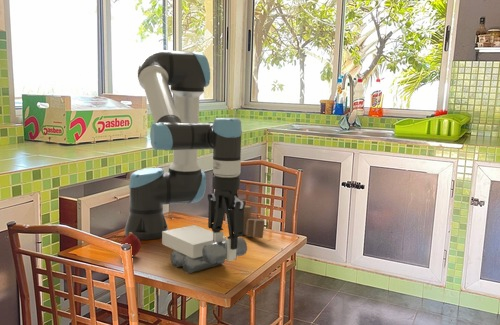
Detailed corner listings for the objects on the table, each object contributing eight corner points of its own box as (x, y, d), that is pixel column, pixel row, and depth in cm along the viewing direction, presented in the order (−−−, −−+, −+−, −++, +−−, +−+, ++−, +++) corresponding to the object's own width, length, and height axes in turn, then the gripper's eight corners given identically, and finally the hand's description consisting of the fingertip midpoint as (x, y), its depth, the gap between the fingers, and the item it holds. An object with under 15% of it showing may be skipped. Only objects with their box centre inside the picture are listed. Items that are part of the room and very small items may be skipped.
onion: (133, 252, 153) (133, 228, 152) (144, 257, 150) (144, 232, 149) (117, 257, 149) (117, 232, 148) (129, 261, 145) (129, 236, 144)
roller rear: (169, 250, 144) (178, 250, 140) (201, 243, 152) (211, 242, 149) (171, 267, 144) (181, 267, 140) (204, 258, 152) (213, 258, 148)
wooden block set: (267, 243, 168) (270, 214, 167) (243, 242, 166) (246, 212, 165) (255, 229, 185) (258, 203, 184) (233, 228, 183) (236, 201, 182)
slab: (162, 244, 147) (162, 231, 146) (194, 237, 155) (194, 225, 154) (193, 258, 135) (193, 244, 135) (226, 249, 143) (226, 236, 143)
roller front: (180, 265, 140) (185, 252, 138) (212, 256, 148) (217, 244, 146) (189, 277, 137) (194, 264, 135) (221, 267, 146) (227, 255, 143)
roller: (203, 263, 132) (201, 244, 132) (236, 254, 140) (234, 237, 140) (214, 263, 128) (212, 244, 128) (248, 254, 136) (245, 237, 136)
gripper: (195, 171, 135) (194, 251, 138) (238, 181, 122) (235, 269, 125) (216, 169, 140) (215, 246, 143) (259, 178, 127) (256, 263, 130)
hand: (224, 257), depth 134 cm, fingers closed on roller, 5 cm apart
